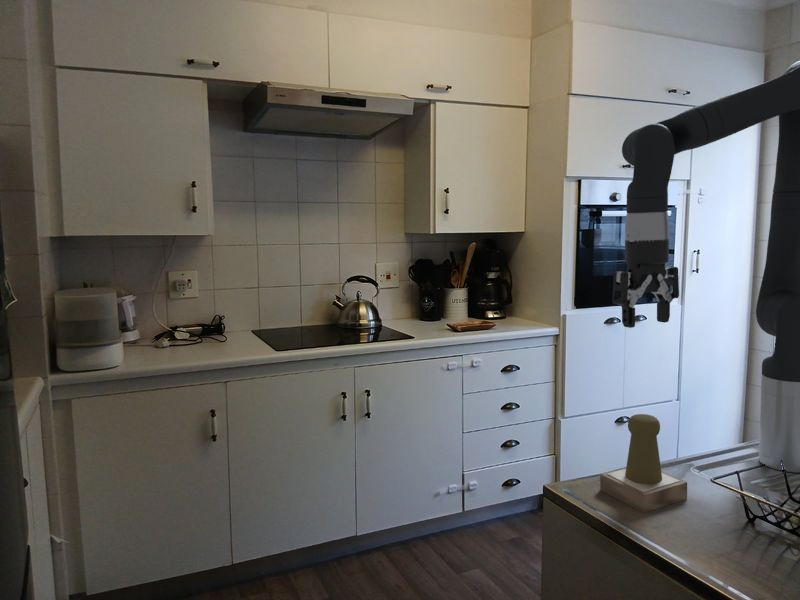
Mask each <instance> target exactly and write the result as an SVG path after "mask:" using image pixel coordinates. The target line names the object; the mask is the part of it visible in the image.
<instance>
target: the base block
mask: <svg viewBox="0 0 800 600" xmlns="http://www.w3.org/2000/svg"><path fill="white" fill-rule="evenodd" d="M625 473H626V466H625V467H620V468H618V469H612V470H610V471H605V472H602V473H600V474H599V478H600V479H599V484H600V485H599V490H600V491H601V492H604V493H606V494H607V495H609V496H611V497H612V498H613V497H614V498H615V499H617V500H619V501H621V502H623V503H625V504H626V505H628V506H630V507H632V508H634V509H636V510H637V511H640V512H641V513H643V514H645V513H647V512H650V511H653V510H656V509H660V508H663V507H665V506H670V505H671V503H673V504H675V503H674V502H676V503H678V502H681V501H685V500H688V482H687V481H686V480H683V479H681V478H678V477H676V476H674V475H672V474H669V473H667V472H665V471H662V470H661V473H662V481H661V482H659V483H656V484H640V483H636V482H633V481H630V480H629V479H627V478H626V476H625Z"/></svg>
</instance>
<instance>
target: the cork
mask: <svg viewBox="0 0 800 600" xmlns="http://www.w3.org/2000/svg"><path fill="white" fill-rule="evenodd" d="M627 429H628V431H629V432H630V441H629V448H628V454H627V461H626V466H625V467H626V473H625V476H626V478H627V479H629V480H630V481H633V482H636V483H640V484H656V483H659V482H661V481H662V473H661V471H662V466H661V459H660V453H659V452H660V451H659V450H660V449H659V444H658V435H659V434H660V431H661V424H660V420H659V419H658V418H657V417H655V416H654V415H651V414H646V413H644V414H643V413H639V414H638V413H637V414H634V415H632V416H630V417H629V418H628V422H627Z"/></svg>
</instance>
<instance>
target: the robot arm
mask: <svg viewBox="0 0 800 600" xmlns="http://www.w3.org/2000/svg"><path fill="white" fill-rule="evenodd" d="M775 117H778V143H777V144H778V145H777V151H776V162H775V173H774V175H775V176H774V183H773V189H772V197H771V206H770V221H769V222H770V223H769V231H768V240H767V247H766V256H765V257H766V258H765V264H764V270H763V275H762V279H761V284H760V287H759V293H758V295H757V301H756V308H755V317H756V321H757V322H756V323H757V324H758V326H759V328H760V329H761V330H762V331H763V332H764V333H766V334H767V335H770V336H773V337H775V339H774V350H773V354H772V355H771V356H767V357H765V358H763V360H762V363H761V377H760V378H761V379H760V381H761V382H760V384H761V386H760V411H759V412H760V414H759V415H760V419H759V441H758V442H759V444H758V445H759V446H758V447H759V448H758V461H759V463H761V464H763V465H764V464H765V465H764V466H766V467H769V468H771V469H773V470H777V471H782V465H781V462H780V461H781V460H783V464H784V467H785V470H786V471H785V472H787V473H800V60H798V61H796V62H795V63H793V64H791V65H790V66H789V67H788V68H787V69H786V70H785V71H784V73H783V75H781V76H777V77H775V78H773V79H770V80H767V81H765V82H763V83H760V84H757V85H754V86H751V87H749V88H746V89H742V90H740V91H736V92H733V93H730V94H727V95H724V96H721V97H717V98H716V99H713V100H710V101H707V102H705V103H702V104H699V105H697V106H694V107H692V108H689V109H686V110H684V111H683V112H681V113H679V114H676V115H675V116H673V117H671V118H667V119H664V120H661V121H658V122H656V123H655V122H654V123H650V124H647V125H645V126H642V127H639V128H637V129H636V130H635V129H634V131H632V132H630V133H629V134H628V135H627V136H626V137H625V138H624V141H623V143H622V145H621V146H622V147H621V153H622V157H623V159H624V160H625V162H626V163H628V164H629V165H631V166H633V174H632V175H633V176H632V180H631V182H630V183H629V184H628V186H627V189H626V218H625V223H624V224H625V225H624V261H625V264H627V266H628V267H627V271H617V270H616V271H614V272H613V279H612V281H613V282H612V304H614V305H618V306H621V323H622V324H623V325H622V326H623V327H624V328H628V329H632V328H635V327H636V307H635V305H636V303H637V302H638V299H640V298H642V296H643V295H644V294H648V293H651V294H653V295H654V297H655V298H656V300H657V302H656V321H657V322H658V323H668V322H669V321H670V320H669V319H670V316H671V303H672V302H673V300H674V299H678V298H679V297H680V285H679V284H680V281H679V279H680V278H679V277H680V276H679V267H677V266H668V265H667V266H666V265H665V264H667V263H668V262H669V261H670V258H669V257H670V221H669V213H668V212H669V206H668V205H669V198H668V197H669V190H668V189H669V187H668V186H669V182H670V179H671V175H672V169H673V166H674V159H675V156H676V155H677V154H680V153H682V152H685V151H689V150H694V149H698V148H700V147H704V146H707V145H709V144H711V143H714V142H716V141H719V140H722V139H725V138H727V137H730V136H732V135H735V134H736V133H739V132H741V131H744V130H746V129H748V128H750V127H754V126H756V125H759V124H761V123H762V122H765V121H768V120H771V119H773V118H775ZM671 289H672V290H671Z"/></svg>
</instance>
